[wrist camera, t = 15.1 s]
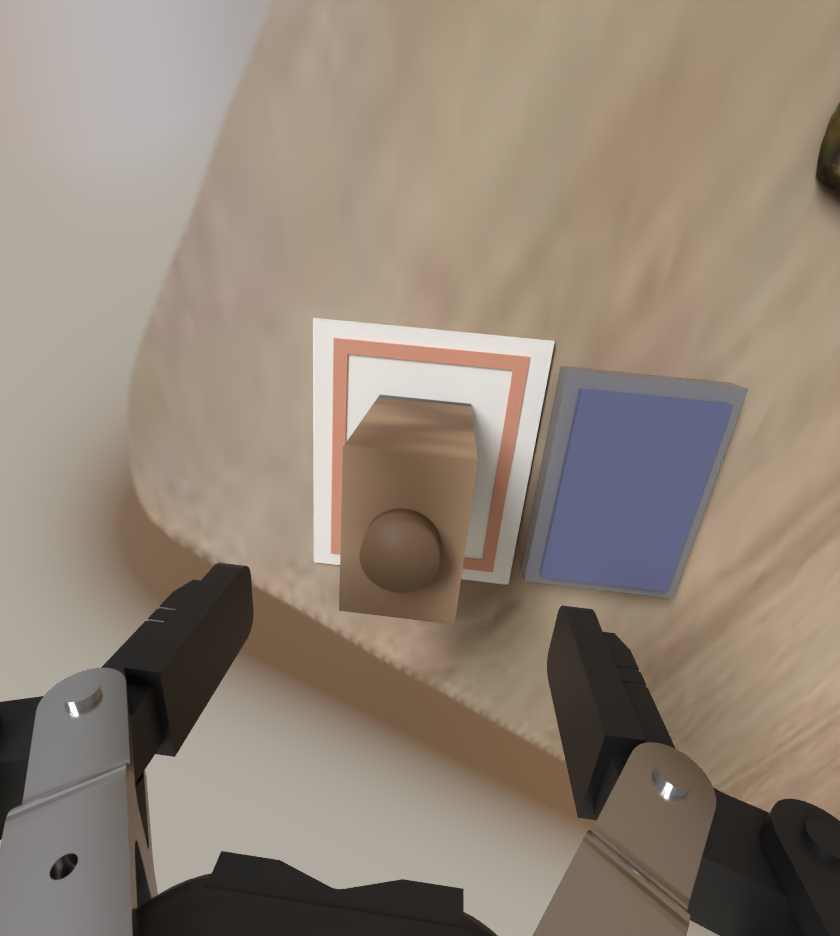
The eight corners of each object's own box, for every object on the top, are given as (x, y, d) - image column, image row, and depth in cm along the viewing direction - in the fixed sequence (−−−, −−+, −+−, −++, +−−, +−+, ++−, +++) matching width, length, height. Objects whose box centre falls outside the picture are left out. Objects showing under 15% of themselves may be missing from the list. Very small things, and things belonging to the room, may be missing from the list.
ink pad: (731, 383, 19) (754, 391, 17) (662, 583, 23) (676, 604, 21) (560, 366, 19) (569, 373, 18) (520, 566, 23) (525, 586, 21)
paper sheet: (553, 340, 19) (555, 341, 19) (507, 582, 23) (508, 585, 23) (314, 317, 19) (312, 318, 19) (314, 559, 24) (313, 563, 23)
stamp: (471, 403, 20) (479, 474, 12) (455, 524, 22) (454, 645, 15) (380, 394, 20) (334, 459, 13) (373, 515, 22) (331, 630, 15)
